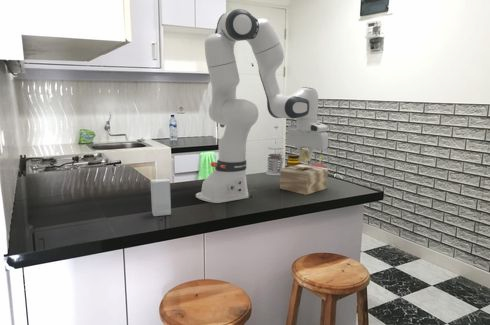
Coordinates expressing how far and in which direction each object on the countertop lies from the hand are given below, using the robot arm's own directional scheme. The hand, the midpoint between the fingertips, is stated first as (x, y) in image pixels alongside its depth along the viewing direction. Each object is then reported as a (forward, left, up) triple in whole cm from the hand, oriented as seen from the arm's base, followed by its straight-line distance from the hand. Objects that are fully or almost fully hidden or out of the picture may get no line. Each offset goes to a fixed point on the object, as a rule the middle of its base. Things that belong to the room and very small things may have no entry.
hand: (305, 157), depth 162 cm
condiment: (+11, +15, -14) cm, 23 cm away
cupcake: (+24, +9, -14) cm, 29 cm away
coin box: (0, 0, -14) cm, 14 cm away
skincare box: (-66, +12, -14) cm, 69 cm away
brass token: (0, 0, -2) cm, 2 cm away
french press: (+14, +28, -14) cm, 34 cm away
